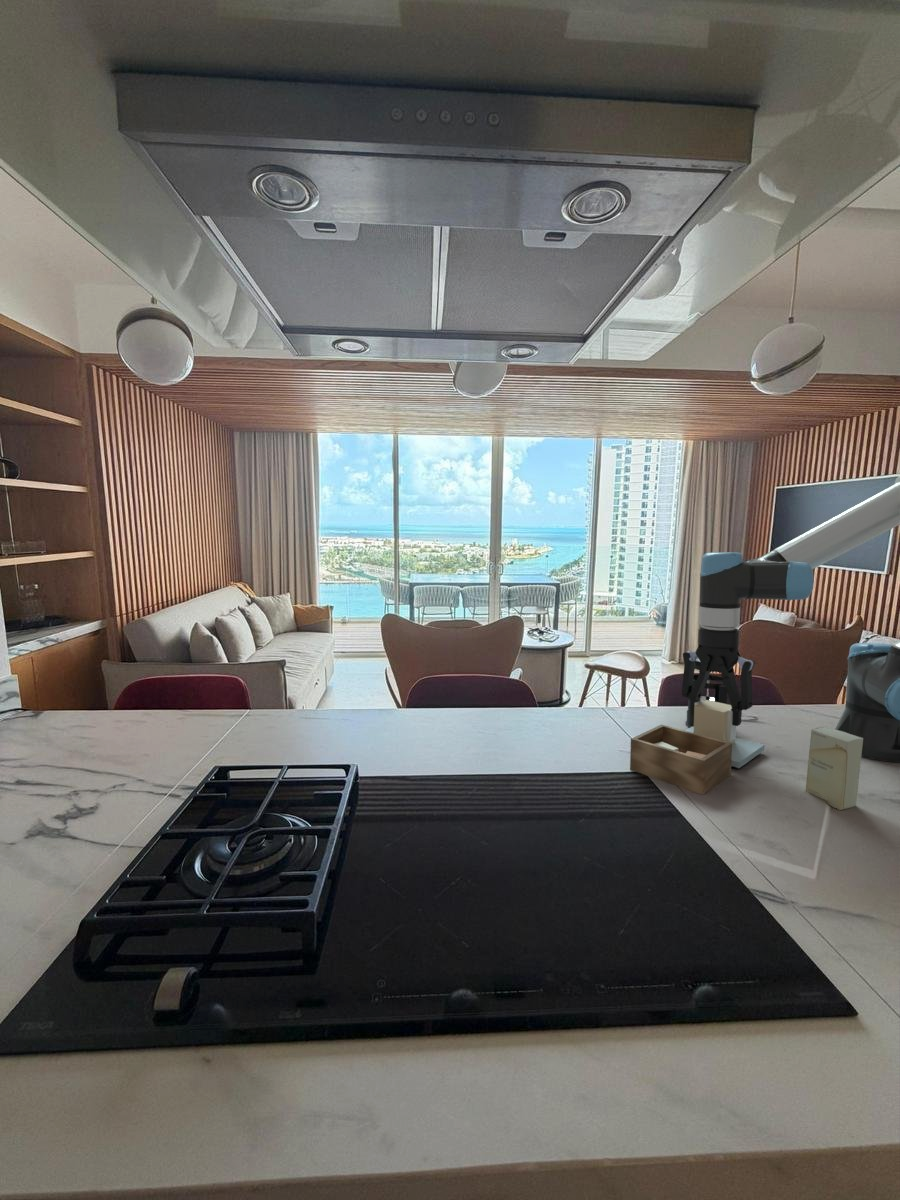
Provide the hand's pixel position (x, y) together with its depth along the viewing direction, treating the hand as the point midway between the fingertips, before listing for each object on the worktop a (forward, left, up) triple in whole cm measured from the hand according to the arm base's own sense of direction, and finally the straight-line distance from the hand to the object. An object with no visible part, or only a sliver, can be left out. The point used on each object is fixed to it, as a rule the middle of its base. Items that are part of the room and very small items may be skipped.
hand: (714, 735), depth 110 cm
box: (0, +15, -4) cm, 16 cm away
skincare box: (-22, +5, -5) cm, 23 cm away
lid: (0, 0, -3) cm, 3 cm away
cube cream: (+4, +15, -4) cm, 16 cm away
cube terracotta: (-3, +15, -4) cm, 16 cm away
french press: (+8, -16, -5) cm, 18 cm away
